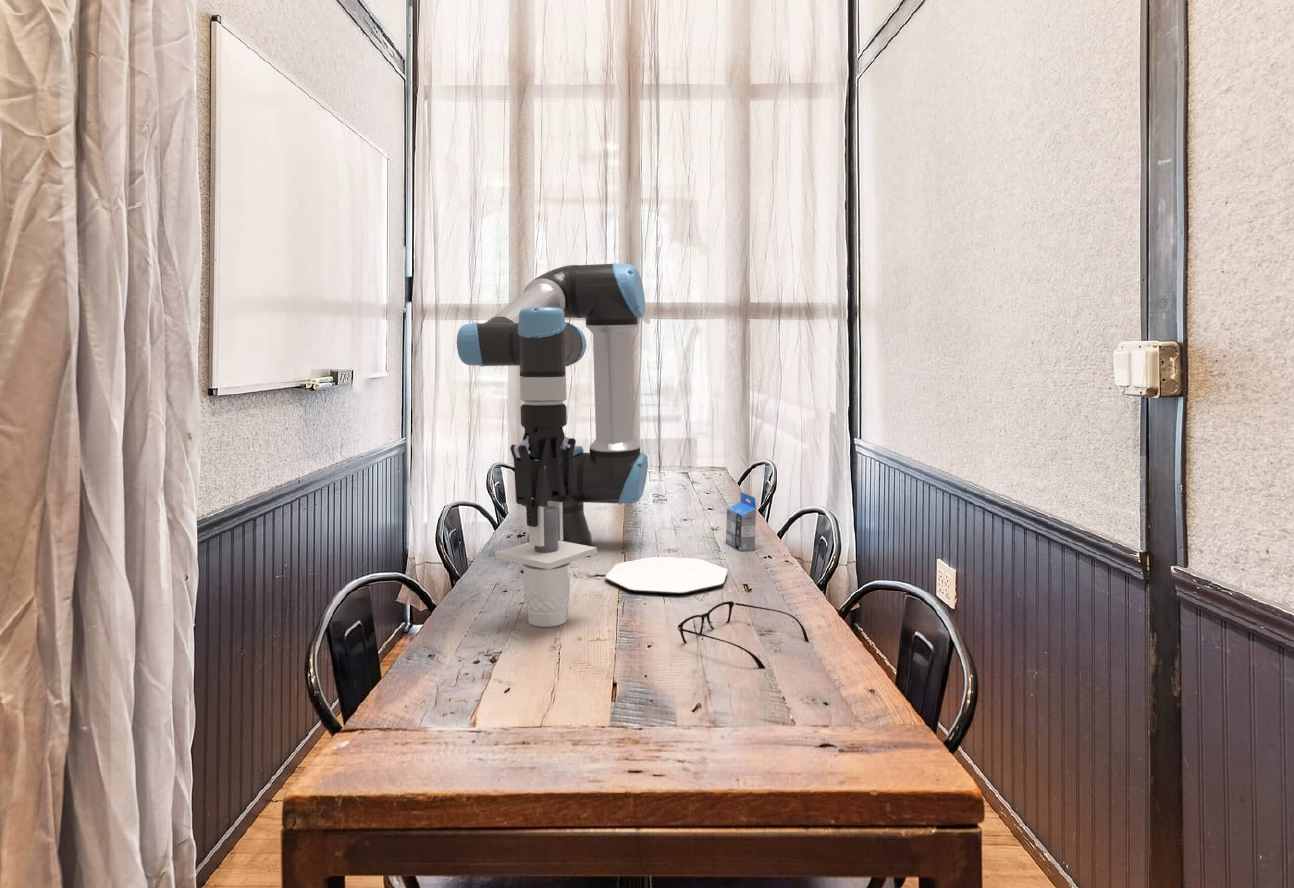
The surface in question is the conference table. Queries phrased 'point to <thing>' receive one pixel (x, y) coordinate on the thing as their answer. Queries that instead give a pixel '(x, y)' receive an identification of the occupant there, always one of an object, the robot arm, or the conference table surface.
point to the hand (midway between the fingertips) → (546, 541)
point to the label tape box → (742, 524)
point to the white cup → (547, 595)
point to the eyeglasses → (731, 604)
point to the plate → (667, 575)
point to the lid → (547, 547)
